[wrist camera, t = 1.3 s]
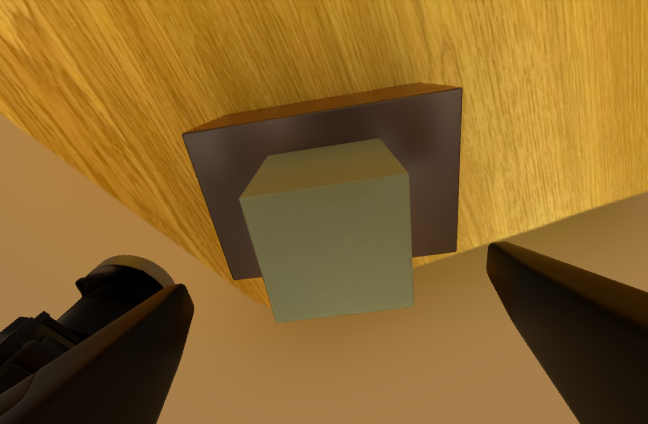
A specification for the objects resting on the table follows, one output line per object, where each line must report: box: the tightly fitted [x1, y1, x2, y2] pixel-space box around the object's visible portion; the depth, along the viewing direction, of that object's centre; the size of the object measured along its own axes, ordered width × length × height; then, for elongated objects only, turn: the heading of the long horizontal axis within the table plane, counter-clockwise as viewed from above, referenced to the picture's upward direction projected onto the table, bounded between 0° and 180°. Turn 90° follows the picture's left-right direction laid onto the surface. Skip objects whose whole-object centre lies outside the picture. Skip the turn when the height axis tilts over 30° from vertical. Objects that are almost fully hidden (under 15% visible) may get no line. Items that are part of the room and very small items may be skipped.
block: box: [239, 138, 414, 323], centre depth 12 cm, size 5×5×5 cm
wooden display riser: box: [182, 83, 463, 280], centre depth 17 cm, size 12×8×6 cm, turn 99°
